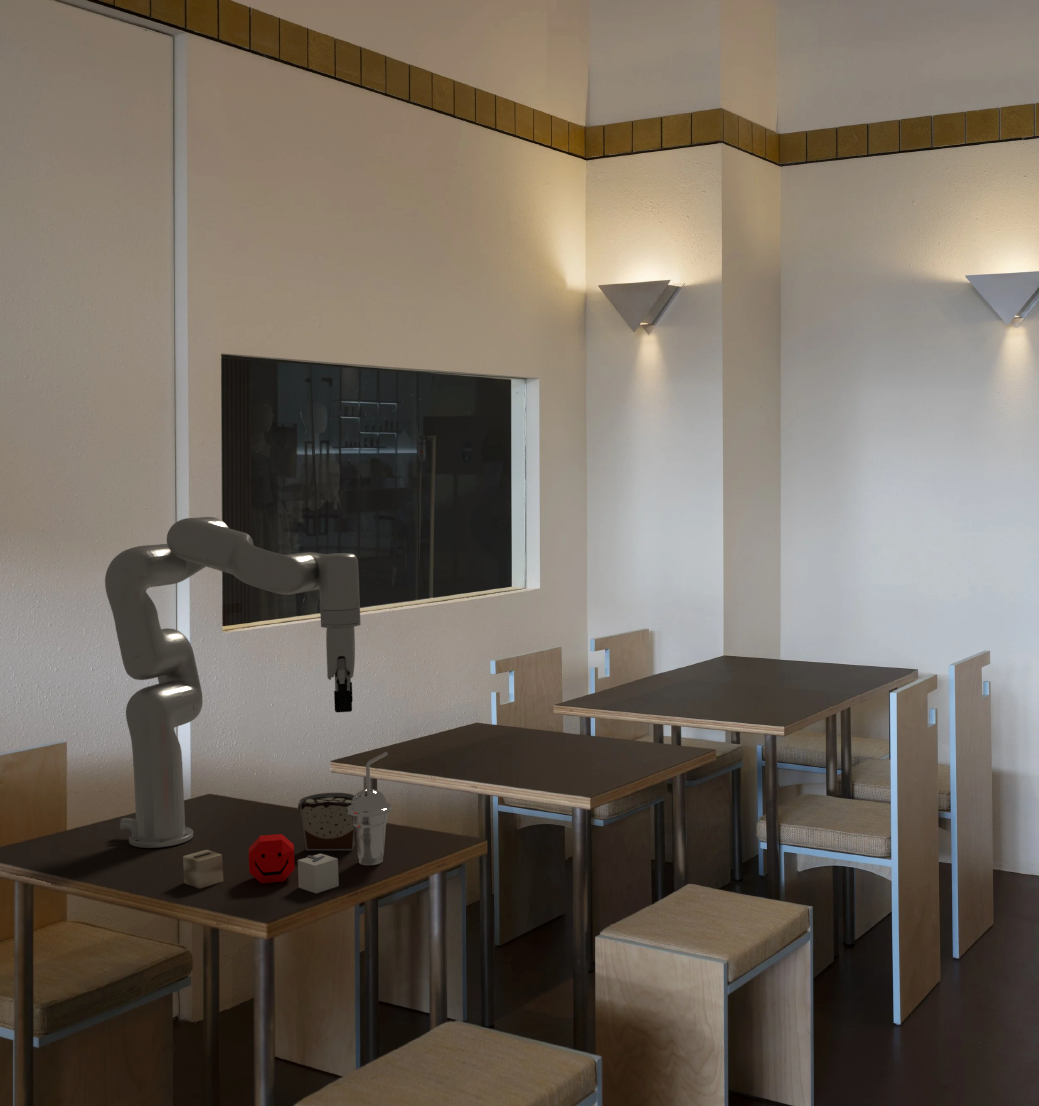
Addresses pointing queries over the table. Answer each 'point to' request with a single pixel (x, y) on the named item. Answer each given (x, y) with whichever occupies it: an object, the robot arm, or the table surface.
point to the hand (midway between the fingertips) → (344, 707)
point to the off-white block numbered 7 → (318, 873)
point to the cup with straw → (369, 820)
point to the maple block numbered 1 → (203, 868)
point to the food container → (327, 821)
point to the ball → (271, 858)
